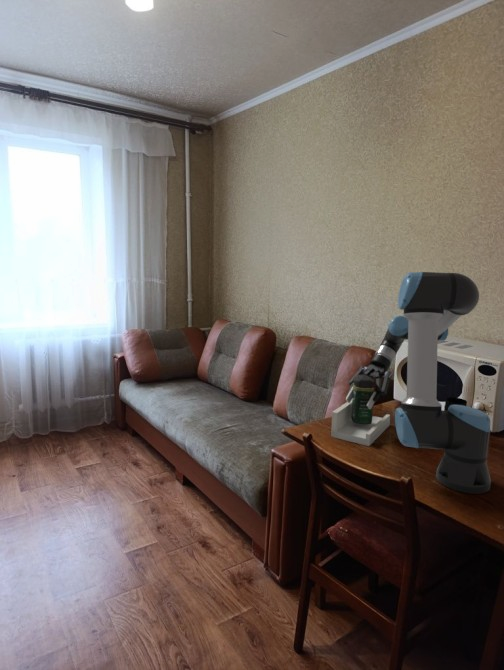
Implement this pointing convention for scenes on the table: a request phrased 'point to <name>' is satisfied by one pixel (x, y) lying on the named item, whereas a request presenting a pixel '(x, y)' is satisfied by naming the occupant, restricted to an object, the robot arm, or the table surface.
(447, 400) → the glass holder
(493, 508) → the table surface
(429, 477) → the table surface
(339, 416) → the channel shelf
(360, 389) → the coffee jar
